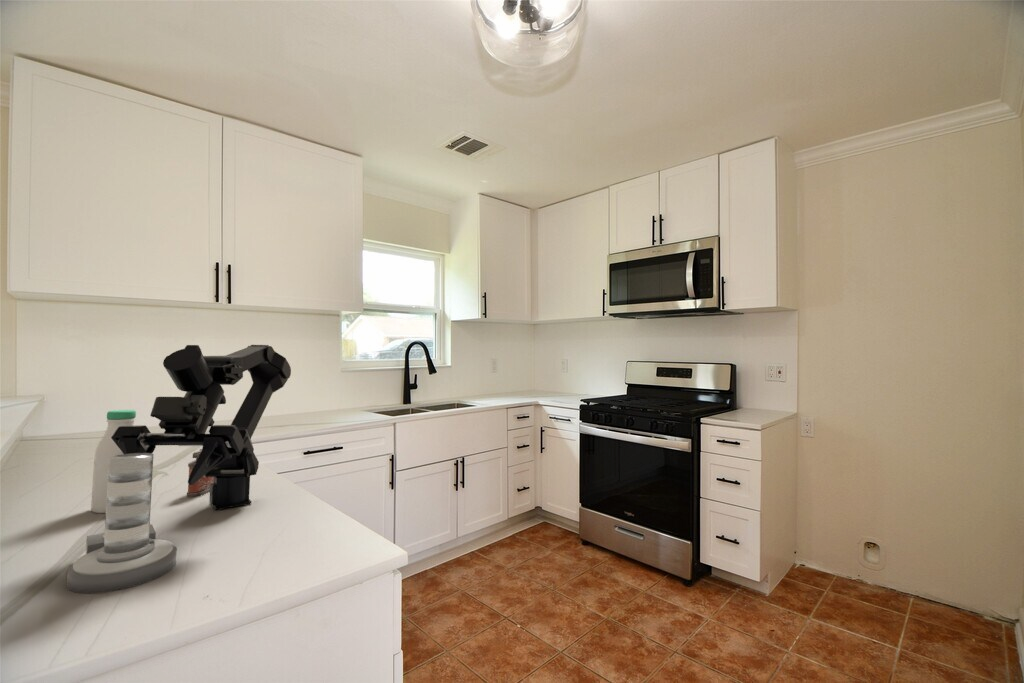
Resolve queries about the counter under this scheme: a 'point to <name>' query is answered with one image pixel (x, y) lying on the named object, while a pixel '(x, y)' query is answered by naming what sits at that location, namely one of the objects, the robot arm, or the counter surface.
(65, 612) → the counter surface
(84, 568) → the kitchen scale
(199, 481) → the lighter
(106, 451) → the milk bottle
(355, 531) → the counter surface
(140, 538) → the disc
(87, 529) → the counter surface
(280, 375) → the robot arm
